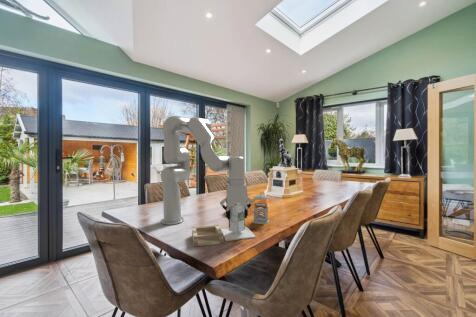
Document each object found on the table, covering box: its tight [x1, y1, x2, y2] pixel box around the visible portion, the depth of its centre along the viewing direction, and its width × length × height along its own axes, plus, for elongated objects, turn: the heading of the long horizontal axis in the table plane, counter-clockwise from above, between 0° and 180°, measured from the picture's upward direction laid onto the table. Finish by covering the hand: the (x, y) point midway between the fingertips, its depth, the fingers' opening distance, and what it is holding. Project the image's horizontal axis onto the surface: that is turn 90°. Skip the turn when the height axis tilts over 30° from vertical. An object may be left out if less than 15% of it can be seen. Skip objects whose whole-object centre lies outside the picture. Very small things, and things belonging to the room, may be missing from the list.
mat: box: [220, 226, 256, 242], centre depth 114 cm, size 14×14×1 cm
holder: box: [191, 224, 224, 247], centre depth 107 cm, size 13×13×4 cm
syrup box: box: [228, 202, 246, 233], centre depth 114 cm, size 6×6×14 cm
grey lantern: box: [248, 177, 270, 225], centre depth 133 cm, size 10×12×25 cm
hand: (236, 217), depth 114 cm, fingers closed on syrup box, 7 cm apart
